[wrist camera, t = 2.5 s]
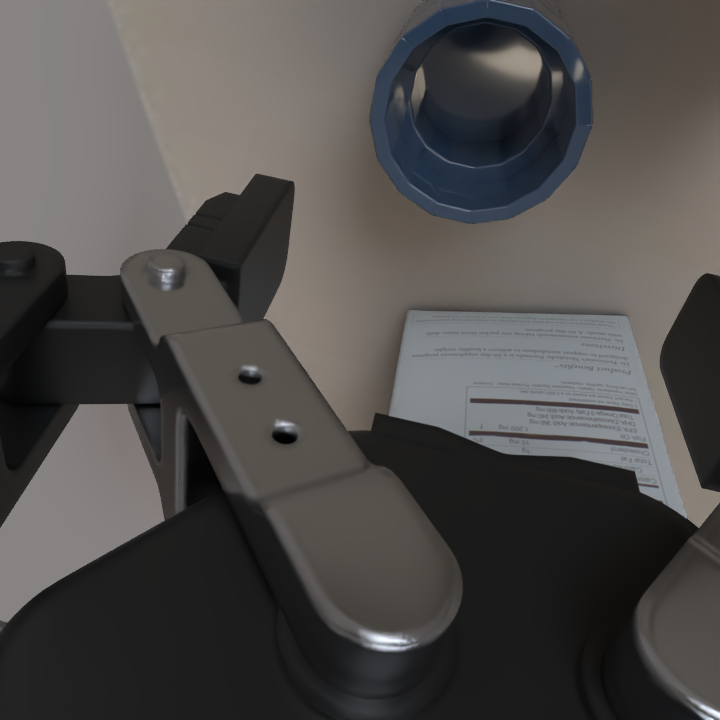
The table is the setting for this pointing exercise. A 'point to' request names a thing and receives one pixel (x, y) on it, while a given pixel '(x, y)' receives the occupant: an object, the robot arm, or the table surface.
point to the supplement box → (536, 389)
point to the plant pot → (481, 107)
